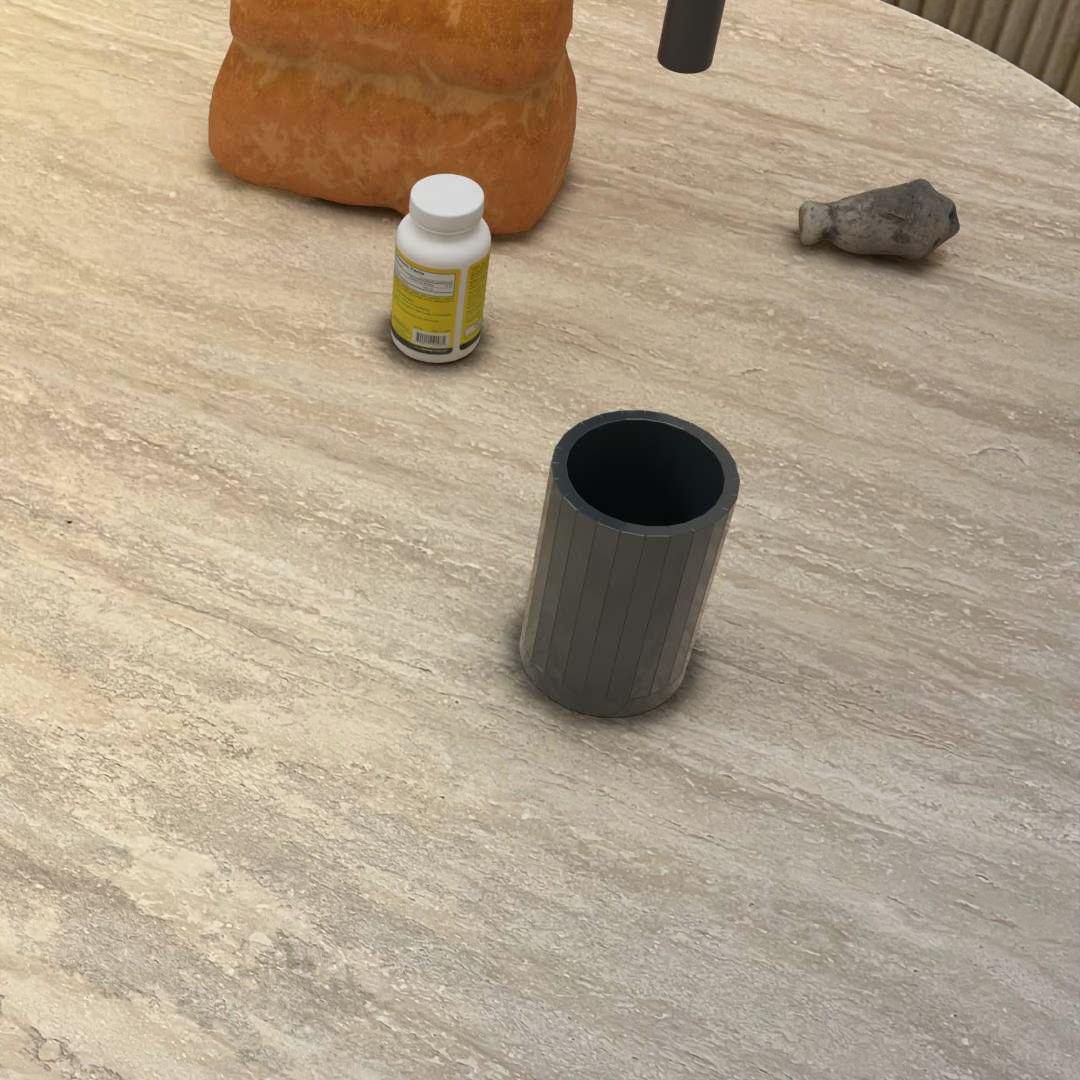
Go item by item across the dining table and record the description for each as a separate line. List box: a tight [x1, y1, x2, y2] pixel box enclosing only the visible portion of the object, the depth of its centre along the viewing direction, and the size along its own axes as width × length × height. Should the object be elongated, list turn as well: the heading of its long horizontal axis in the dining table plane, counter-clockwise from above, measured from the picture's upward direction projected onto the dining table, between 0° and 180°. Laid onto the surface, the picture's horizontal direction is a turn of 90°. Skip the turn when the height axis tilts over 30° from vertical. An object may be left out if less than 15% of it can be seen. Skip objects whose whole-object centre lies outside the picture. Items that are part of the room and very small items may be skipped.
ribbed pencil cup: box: [518, 409, 741, 718], centre depth 93 cm, size 10×10×14 cm
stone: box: [797, 178, 961, 261], centre depth 120 cm, size 10×5×8 cm
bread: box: [207, 0, 578, 236], centre depth 122 cm, size 16×26×17 cm, turn 70°
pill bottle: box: [390, 174, 492, 364], centre depth 111 cm, size 6×6×11 cm
